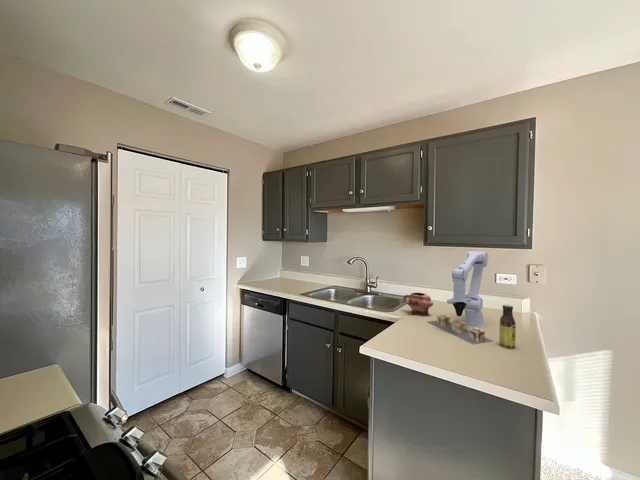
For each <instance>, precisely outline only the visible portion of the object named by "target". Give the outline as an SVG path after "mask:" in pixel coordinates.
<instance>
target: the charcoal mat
mask: <svg viewBox="0 0 640 480" xmlns="http://www.w3.org/2000/svg"><path fill="white" fill-rule="evenodd" d="M426 323H427V324H430V325H431V326H434V327H436V328H438V329H440V330H442V331H444V332H446V333H448V334H451V335H453V336H455V337H457V338H458V339H461V340H464V341H465V342H466V343H469V344H471V345H478V344H480V345H481V344H486V343H492V342H494V340H492V339H490V338H487V337H485V341H482V342H476V341H473V340H471V339H469V329H467V328H466V333H460V334H458V333H456V332H454V331H452V322H450V326H441V325H439V324H437V320H430V321H426Z"/></svg>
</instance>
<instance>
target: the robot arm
mask: <svg viewBox="0 0 640 480" xmlns="http://www.w3.org/2000/svg"><path fill="white" fill-rule="evenodd" d="M466 253H467V254H466V260H465V261H462V262H461V263H460V264H459V265H458V266H457V268H454V269H453V270H452V271H451V278H452V282H453V296H452V297H453V298H449V299H446V304H448V305H451V304H452V306H453V307H454V311H455V314H456V316H457V317H462V315H463V313H464V323H466V327H469V328H481V327H484V314H483V311H482V310H483V301H484V299H483V298H482V297H481V296H480V295H479V292H480V286H481V281H482V276H483V272H484V268H486V267H487V265H488V262H489V261H488V260H489V255H488V252H487V251H475V250H468V252H466ZM472 269H473V270H472ZM470 271H472V273H471V274H472V275H471V280H470V285H469V290H468V292H466V280H467V279H468V276H469V273H470Z"/></svg>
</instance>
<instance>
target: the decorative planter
mask: <svg viewBox="0 0 640 480" xmlns="http://www.w3.org/2000/svg"><path fill="white" fill-rule="evenodd" d="M406 298H408V302H407V299H406ZM431 298H432V297H431V296H430V295H428V294H426V293H422V292H412V293H410V294H405V295H404V296H403V301H404V303H406V305H408V306H409V307H410V309H411V313H412V314H413V315H414V316H419V317H425V316H426V317H427V316H428V315H429V309H430V308H431V307H433V306H434V303H433V301H432V299H431Z"/></svg>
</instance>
